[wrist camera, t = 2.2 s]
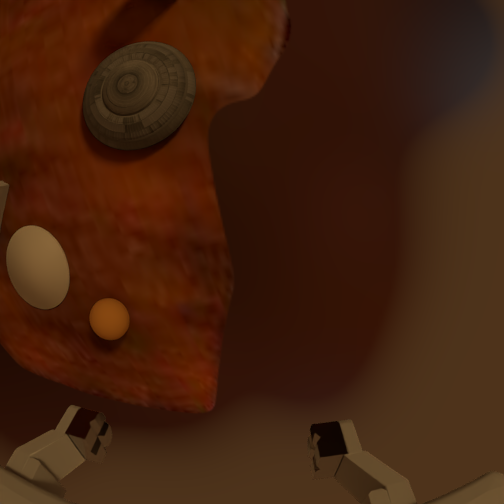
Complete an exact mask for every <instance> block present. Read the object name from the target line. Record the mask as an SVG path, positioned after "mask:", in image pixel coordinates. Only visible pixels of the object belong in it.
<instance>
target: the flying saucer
mask: <svg viewBox="0 0 504 504" xmlns="http://www.w3.org/2000/svg"><path fill="white" fill-rule="evenodd" d="M195 91H196V80H195V74H194V71H193V68H192V66H191V64H190V62H189V61H188V59H187V58H186V57H185V56H184V55H183V54H182V53H181V52H180V51H179V50H177V49H176V48H174V47H172V46H170V45H167V44H164V43H160V42H139V43H134V44H130V45H127V46H125V47H123V48H121V49H119V50H117V51H115V52H114V53H112V54H111V55H109V56H108V57H107V58H106V59H104V60H103V61H102V62H101V63H100V64H99V66H98V67H97V68H96V69H95V71H94V72H93V74H92V75H91V77H90V79H89V81H88V83H87V86H86V89H85V92H84V98H83V114H84V118H85V122H86V124H87V126H88V128H89V130H90V132H91V133H92V134H93V135H94V137H95V138H97V139H98V140H99V141H100V142H102V143H103V144H105V145H107V146H109V147H112V148H115V149H120V150H137V149H142V148H146V147H149V146H152V145H154V144H156V143H158V142H160V141H162V140H163V139H165V138H166V137H168V136H169V135H170V134H172V133H173V132H174V131H175V130H176V129H177V128H178V127H179V126H180V125H181V123H182V122H183V121H184V119H185V118H186V116H187V115H188V113H189V111H190V109H191V107H192V104H193V101H194V97H195Z"/></svg>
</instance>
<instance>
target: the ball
mask: <svg viewBox="0 0 504 504" xmlns="http://www.w3.org/2000/svg"><path fill="white" fill-rule="evenodd" d="M129 322H130V319H129V314H128V311H127V309H126V307H125V306H124V305H123V304H122V303H121V302H119V301H118V300H115V299H112V298H105V299H102V300H100V301H98V302H97V303H96V304H95V305H94V306H93V307H92V309H91V312H90V324H91V327H92V329H93V330H94V332H95V333H96V334H97V335H98V336H99V337H101V338H103V339H106V340H115V339H118V338H120V337H122V336H123V335H124V334H125V333H126V331H127V329H128V327H129Z"/></svg>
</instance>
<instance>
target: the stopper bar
mask: <svg viewBox="0 0 504 504" xmlns="http://www.w3.org/2000/svg"><path fill="white" fill-rule="evenodd" d="M8 189H9V184H7V183H5V182H3V181H0V228H1V223H2V217H3V212H4V207H5V202H6V198H7V194H8Z"/></svg>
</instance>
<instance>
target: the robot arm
mask: <svg viewBox="0 0 504 504" xmlns="http://www.w3.org/2000/svg"><path fill="white" fill-rule="evenodd" d="M105 419H106V418H105V416H104V414H103V413H101V412H97V411H93V410H89V409H85V408H82V407H77V406H74V405H71V406H69V407H68V409H67V411H66V413H65V414H64V416H63V417H62V419H61V421H60V422H59V424H58V426H57V428H56V429H55V430H51V431H49V432H47V433H45V434H43V435H41V436H39V437H37V438H36V439H34V440H32V441H30V442H28V443H26V444H24V445H22V446H20V447H18V448H17V449H16V450H15V452H14V453H13V455H12V456H11V458H10V460H9V462H8V463H7V465H6V467H5V468H4V467H3V466H1V465H0V504H76V503H73V502H71V501H69V500H66V499H64V495H65V493H66V489H65V488H64V487H63V486H62V485H61V484H60V483H59V482H58V481H59V480H61V479H62V478H63V477H65V476H66V475H67V474H69V473H70V472H71V471H72V470H74V469H75V468H76V467H77V466H79V465H80V464H81V463H82V462H84V461H85V459H86V460H90V461H93V462H97V463H101V464H102V462H103V460H104V457H105V455H106V453H107V452H106V449H105V447H107V446H108V445H110V442H111V440H112V430H111V427H110V425H109V424H108V423H107V422H105ZM310 432H311V435H310V436H309V437H308V456H309V458H310V459H311V460H312V462H311V465H310V467H311V474H312V479H313V480H314V479H323V478H330V477H334V478H335V479H336V480H337V481H338V482H339V483H340V484H341V485H342V486H343V487H344V488H345V489H346V490H347V491H348V492H349V493H350V494H351V495H352V496H353V497H354V498H355V499H356V500H357V501H359V502H360V503H361V504H417V502H416V499H415V497H414V494H413V491H412V489H411V486H410V483H409V481H408V479H406V478H405V477H403V476H402V475H400V474H399V473H397V472H396V471H394V470H393V469H391V468H390V467H388V466H387V465H385V464H384V463H383V462H381V461H380V460H378V459H377V458H375V457H374V456H373V455H371V454H370V453H368V452H367V451H362V449H361V445H360V442H359V440H358V437H357V433H356V431H355V428H354V425H353V422H352V421H351V420H350V419H349V420H343V421H333V422H326V423H318V424H312V425H311V428H310ZM423 504H504V474H501V473H499V472H495V471H491V472H488V473H485V474H484V475H482V476H480V477H478V478H476V479H475V480H473V481H471V482H469V483H467V484H465V485H463V486H461V487H459V488H457V489H455V490H453V491H451V492H449V493H447V494H445V495H442V496H440V497H438V498H435V499H433V500H431V501H428V502H425V503H423Z"/></svg>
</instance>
